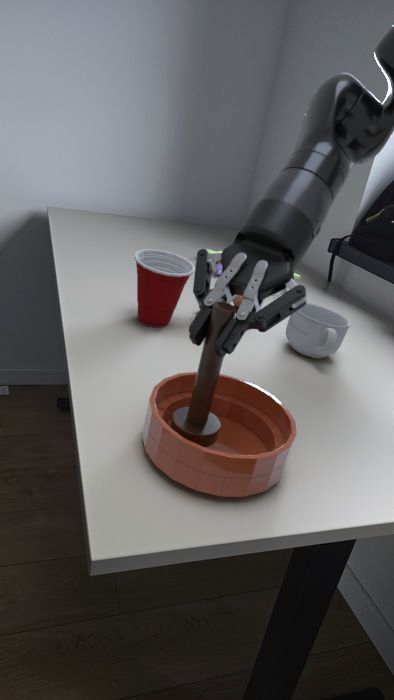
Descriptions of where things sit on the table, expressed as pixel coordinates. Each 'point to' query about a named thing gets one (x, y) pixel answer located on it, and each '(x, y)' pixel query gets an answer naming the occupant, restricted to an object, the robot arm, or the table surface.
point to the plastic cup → (160, 284)
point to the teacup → (316, 330)
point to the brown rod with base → (205, 385)
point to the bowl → (221, 437)
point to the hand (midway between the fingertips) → (206, 346)
